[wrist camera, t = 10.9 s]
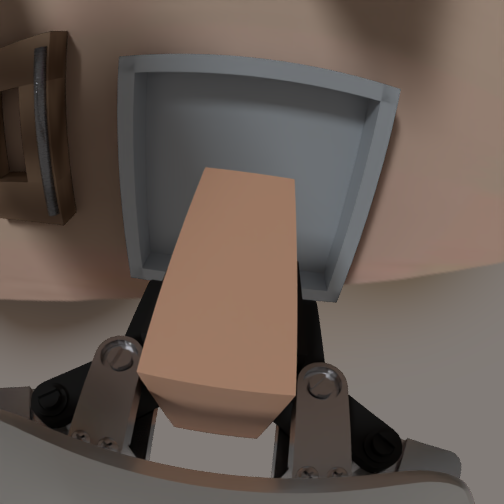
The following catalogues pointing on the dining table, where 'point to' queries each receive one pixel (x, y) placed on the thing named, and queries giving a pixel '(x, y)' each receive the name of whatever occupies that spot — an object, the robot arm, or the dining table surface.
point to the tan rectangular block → (228, 309)
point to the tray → (250, 151)
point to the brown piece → (37, 131)
